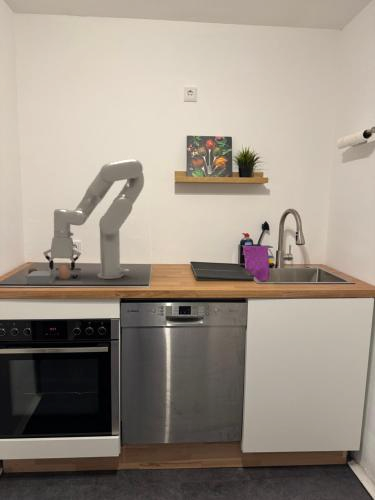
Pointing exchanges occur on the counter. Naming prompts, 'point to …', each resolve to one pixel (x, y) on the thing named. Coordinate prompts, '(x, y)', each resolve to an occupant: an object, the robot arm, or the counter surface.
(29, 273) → the walnut cube
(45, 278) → the block
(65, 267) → the terracotta cylinder
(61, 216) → the robot arm
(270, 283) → the counter surface
